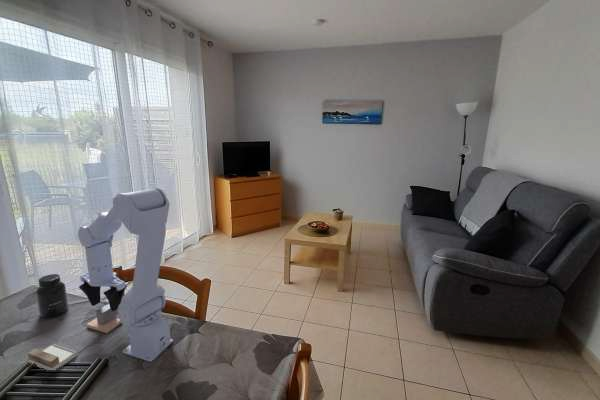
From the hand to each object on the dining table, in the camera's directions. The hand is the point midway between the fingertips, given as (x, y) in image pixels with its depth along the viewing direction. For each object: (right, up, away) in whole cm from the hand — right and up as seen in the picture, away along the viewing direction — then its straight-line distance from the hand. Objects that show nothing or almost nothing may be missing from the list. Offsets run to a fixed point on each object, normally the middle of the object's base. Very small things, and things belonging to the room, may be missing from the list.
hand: (105, 306), depth 81 cm
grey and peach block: (-1, -6, +1) cm, 6 cm away
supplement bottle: (-20, -4, +5) cm, 21 cm away
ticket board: (-4, -9, -12) cm, 16 cm away
